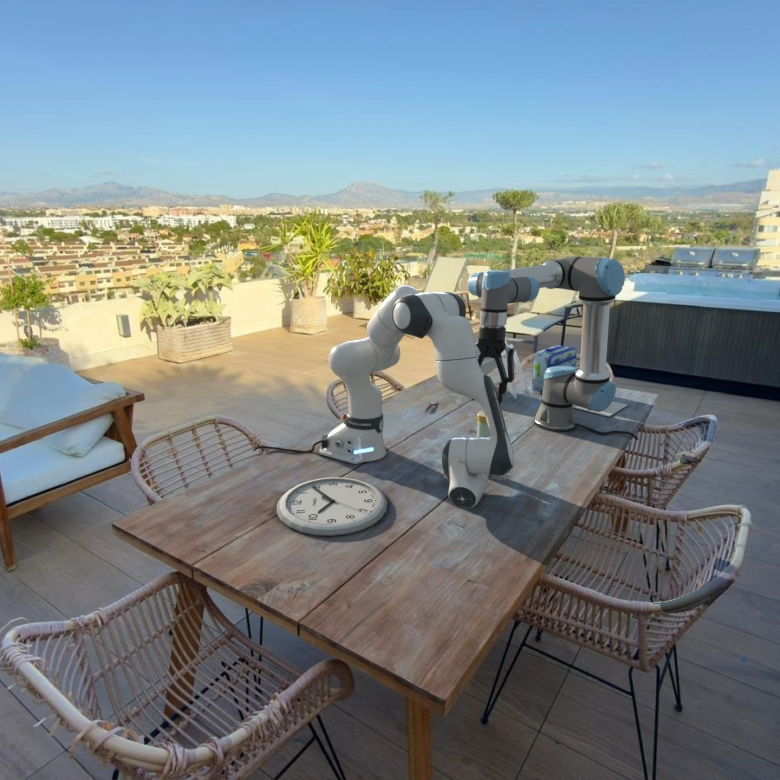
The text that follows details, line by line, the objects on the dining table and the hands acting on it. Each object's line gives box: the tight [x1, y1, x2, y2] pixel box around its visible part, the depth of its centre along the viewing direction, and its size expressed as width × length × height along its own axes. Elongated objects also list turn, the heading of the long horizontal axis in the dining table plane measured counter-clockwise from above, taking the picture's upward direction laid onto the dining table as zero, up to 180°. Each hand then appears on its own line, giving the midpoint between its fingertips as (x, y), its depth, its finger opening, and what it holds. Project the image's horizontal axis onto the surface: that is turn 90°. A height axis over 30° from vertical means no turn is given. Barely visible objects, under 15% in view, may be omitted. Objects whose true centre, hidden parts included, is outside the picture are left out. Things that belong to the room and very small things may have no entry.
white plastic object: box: [476, 336, 531, 400], centre depth 245 cm, size 37×45×31 cm
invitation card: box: [573, 400, 629, 418], centre depth 226 cm, size 21×1×15 cm
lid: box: [476, 410, 487, 423], centre depth 158 cm, size 5×5×2 cm
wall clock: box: [276, 476, 388, 537], centre depth 142 cm, size 30×2×30 cm
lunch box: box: [531, 345, 577, 393], centre depth 245 cm, size 26×11×21 cm, turn 134°
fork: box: [425, 396, 439, 412], centre depth 222 cm, size 3×16×2 cm, turn 160°
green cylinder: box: [476, 420, 491, 437], centre depth 161 cm, size 4×4×19 cm
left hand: (482, 454), depth 161 cm, fingers open, 8 cm apart
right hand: (486, 401), depth 157 cm, fingers open, 7 cm apart
